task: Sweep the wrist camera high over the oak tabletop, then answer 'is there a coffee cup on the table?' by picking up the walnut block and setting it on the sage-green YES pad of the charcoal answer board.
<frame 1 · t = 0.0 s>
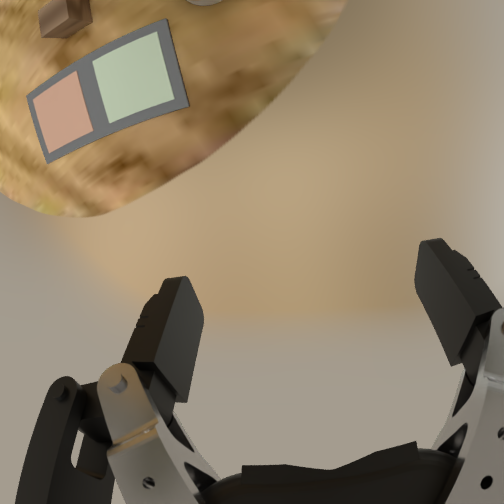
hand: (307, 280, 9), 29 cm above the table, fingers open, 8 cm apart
walnut block: (77, 17, 23), on the table
answer board: (94, 95, 31), on the table
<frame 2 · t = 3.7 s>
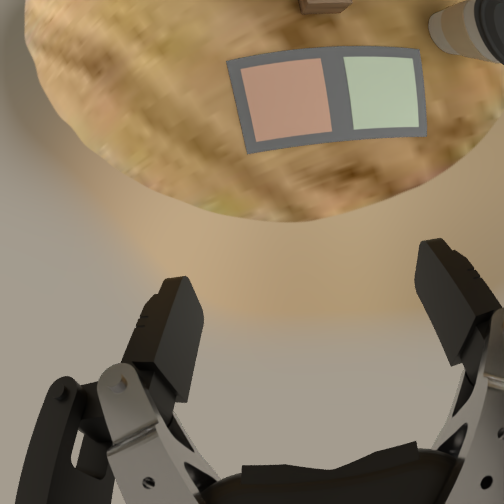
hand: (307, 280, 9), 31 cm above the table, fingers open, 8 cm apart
coffee cup: (446, 32, 23), on the table
answer board: (337, 93, 31), on the table
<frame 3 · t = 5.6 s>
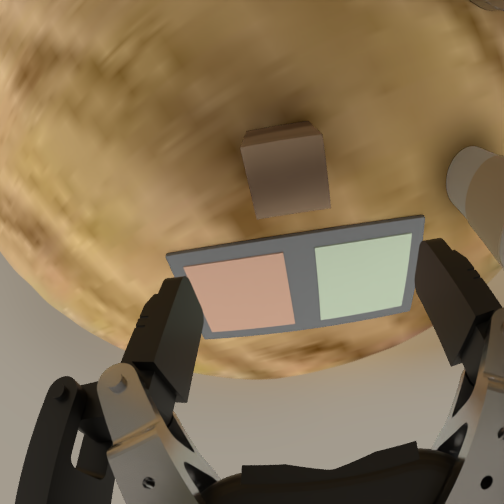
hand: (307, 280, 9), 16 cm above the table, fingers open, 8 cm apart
coffee cup: (469, 177, 22), on the table
walnut block: (283, 154, 22), on the table
answer board: (303, 285, 30), on the table
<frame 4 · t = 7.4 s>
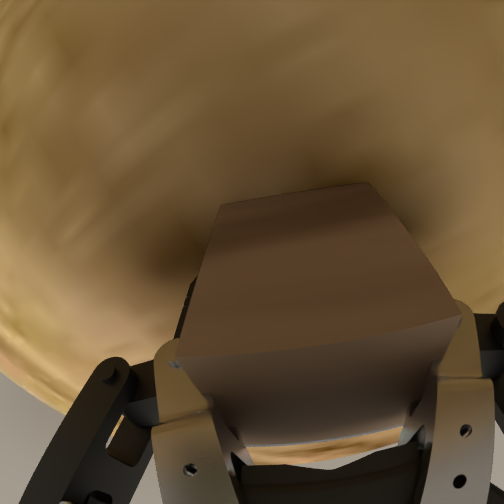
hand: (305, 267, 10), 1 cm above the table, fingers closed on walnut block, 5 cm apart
walnut block: (304, 254, 10), on the table, touching gripper
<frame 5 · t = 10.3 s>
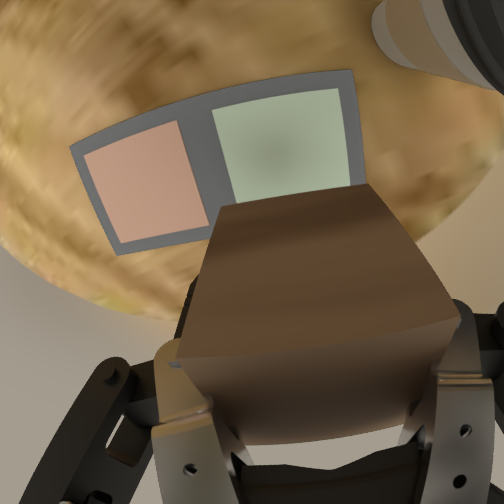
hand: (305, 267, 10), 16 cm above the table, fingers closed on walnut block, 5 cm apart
coffee cup: (406, 32, 16), on the table
walnut block: (304, 255, 11), point 15 cm above the table, touching gripper
answer board: (211, 168, 24), on the table
when the fingers open (2 cm above the table, at t = 13.2 s): walnut block stays where it is, resting on answer board.
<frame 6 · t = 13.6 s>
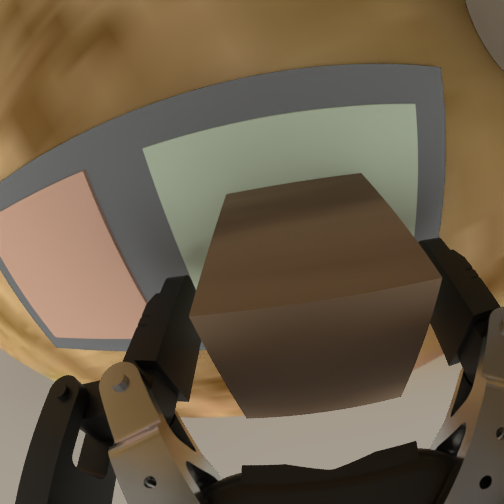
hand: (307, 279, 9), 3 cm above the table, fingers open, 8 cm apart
walnut block: (303, 240, 11), point 1 cm above the table, touching answer board
answer board: (157, 255, 13), on the table
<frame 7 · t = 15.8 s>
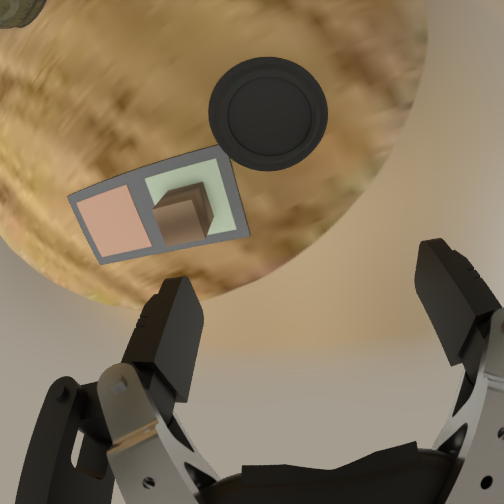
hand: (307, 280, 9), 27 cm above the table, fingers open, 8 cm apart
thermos: (30, 4, 19), on the table
coffee cup: (267, 104, 30), on the table
walnut block: (190, 203, 37), point 1 cm above the table, touching answer board
answer board: (149, 212, 38), on the table
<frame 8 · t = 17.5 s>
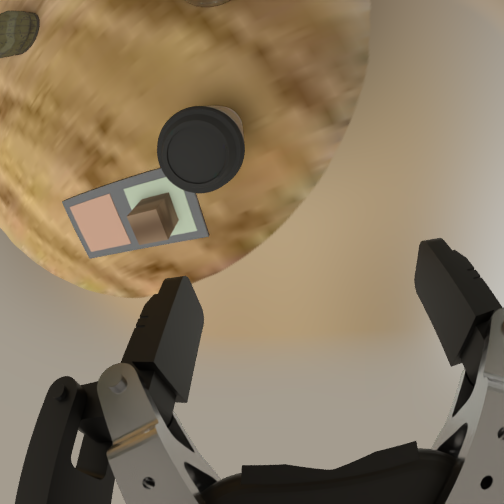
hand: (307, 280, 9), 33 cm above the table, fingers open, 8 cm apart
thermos: (24, 33, 25), on the table
coffee cup: (218, 128, 38), on the table
walnut block: (160, 209, 44), point 1 cm above the table, touching answer board
answer board: (128, 215, 46), on the table
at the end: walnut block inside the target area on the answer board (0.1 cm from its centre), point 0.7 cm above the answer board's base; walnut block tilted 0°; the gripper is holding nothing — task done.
